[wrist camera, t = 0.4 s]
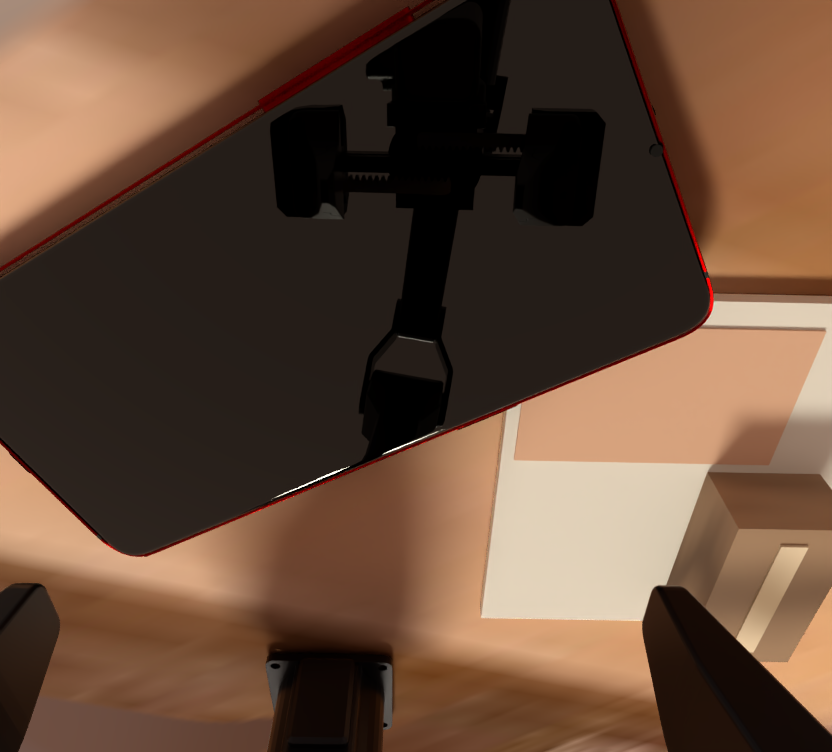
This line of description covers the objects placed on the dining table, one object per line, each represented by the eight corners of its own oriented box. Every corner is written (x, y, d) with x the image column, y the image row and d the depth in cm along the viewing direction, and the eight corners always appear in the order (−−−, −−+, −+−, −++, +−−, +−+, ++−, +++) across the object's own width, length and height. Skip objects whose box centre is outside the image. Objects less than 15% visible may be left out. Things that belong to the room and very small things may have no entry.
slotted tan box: (756, 602, 30) (788, 664, 27) (660, 601, 30) (683, 662, 27) (819, 474, 25) (865, 533, 23) (707, 471, 25) (739, 530, 23)
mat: (766, 612, 31) (773, 624, 30) (479, 607, 31) (481, 619, 30) (928, 297, 22) (943, 307, 21) (518, 289, 22) (521, 298, 21)
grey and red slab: (-123, 340, 21) (587, -108, 14) (-89, 320, 23) (575, -99, 16) (122, 574, 27) (732, 328, 20) (138, 547, 28) (714, 307, 21)
